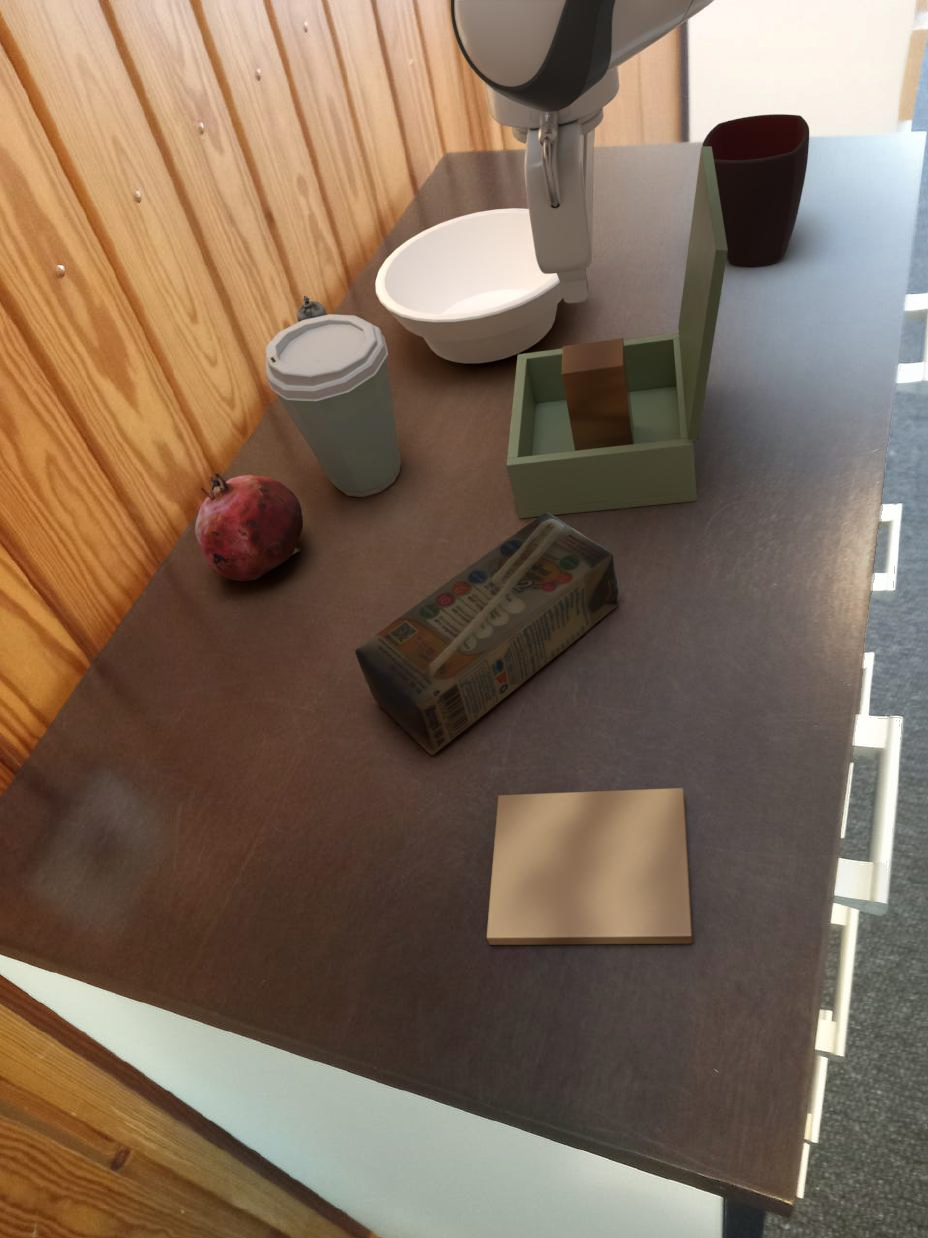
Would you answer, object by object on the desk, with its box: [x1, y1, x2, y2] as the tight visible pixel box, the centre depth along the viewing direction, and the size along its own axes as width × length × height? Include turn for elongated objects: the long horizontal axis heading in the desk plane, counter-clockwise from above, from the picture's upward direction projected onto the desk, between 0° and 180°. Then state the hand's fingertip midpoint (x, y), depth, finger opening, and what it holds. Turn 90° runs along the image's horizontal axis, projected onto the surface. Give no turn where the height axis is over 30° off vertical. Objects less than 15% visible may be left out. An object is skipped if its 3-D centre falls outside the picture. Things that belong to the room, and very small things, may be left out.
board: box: [486, 787, 694, 946], centre depth 64 cm, size 12×10×1 cm
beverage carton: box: [354, 512, 620, 756], centre depth 75 cm, size 8×19×7 cm, turn 130°
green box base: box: [505, 332, 698, 519], centre depth 89 cm, size 15×16×6 cm
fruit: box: [194, 471, 304, 582], centre depth 88 cm, size 9×10×10 cm
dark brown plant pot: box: [701, 113, 810, 267], centre depth 105 cm, size 10×14×12 cm
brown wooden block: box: [562, 337, 634, 451], centre depth 87 cm, size 5×4×9 cm
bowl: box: [374, 207, 563, 364], centre depth 106 cm, size 21×21×8 cm
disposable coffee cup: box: [264, 313, 402, 498], centre depth 91 cm, size 11×11×15 cm
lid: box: [677, 146, 728, 440], centre depth 79 cm, size 16×16×1 cm
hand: (577, 264), depth 78 cm, fingers open, 8 cm apart
